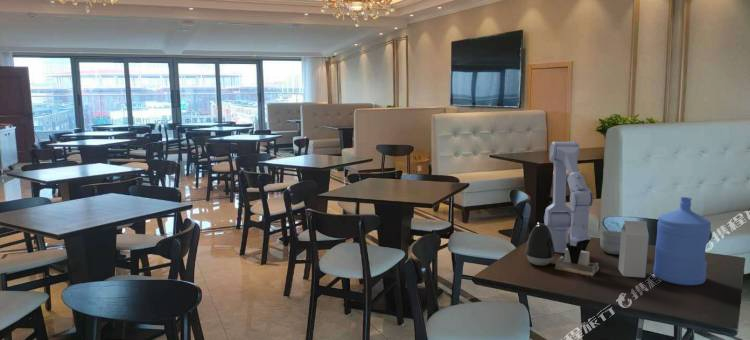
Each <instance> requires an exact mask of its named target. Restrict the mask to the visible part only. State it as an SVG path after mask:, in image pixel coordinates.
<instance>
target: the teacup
mask: <svg viewBox="0 0 750 340" xmlns="http://www.w3.org/2000/svg"><path fill="white" fill-rule="evenodd" d="M620 241H621V231H616V230H602V231H600V239H599V242H600V243H599V245H600V248H601V249H602V250H603V251H604V252H605V253H607V254H610V255H618V256H619V254H620Z"/></svg>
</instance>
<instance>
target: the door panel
mask: <svg viewBox="0 0 750 340" xmlns="http://www.w3.org/2000/svg"><path fill="white" fill-rule="evenodd" d="M563 258H564V262H569V263H571V260H570V254H569V251H568V248H566V249H565V253H564V257H563ZM589 262H590V251H581V253H580V256H579V261H578V264H579V265H585V266H589Z"/></svg>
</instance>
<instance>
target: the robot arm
mask: <svg viewBox="0 0 750 340" xmlns="http://www.w3.org/2000/svg"><path fill="white" fill-rule="evenodd" d="M580 151H581V150H580V144H579V143H578V142H577V140H575V141H552V142H551V143H550V145H549V162H551V163H553V180H552V182H553V183H552V184H553V185H552V187H553V188H552V203H551V204H550V205H548V206H546V208H545V210H544V211H545V212H544V216H543V221H544V223H543V224H545V225H546V226H548V228H549V230H550V232H551V235H552V238H553V243H554V250H555V253H559V254H565V249H566V248H568V251H569V254H570V260H571V263H574V264H578V261H579V256H580V253H581V251H586V250H587V247H588V245H589V243H590V242H591V240H592V237H591V236H589V235H588V233H589V217H590V207H591V206H592V205H593V203H594V196H593V191H592V190H591V189H590V188H589V187H587V183H586V179H585V176H584V175H583V174H582V173H580V169H579V164H578V158H579V155H580ZM567 173H568V177H567ZM567 184H568V187H569V192H570V195H569V203H570V206H568V205H567V203H566V200H567V199H566V197H567V196H566V195H567ZM569 230H570V234H569ZM569 239H570V241H569Z"/></svg>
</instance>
